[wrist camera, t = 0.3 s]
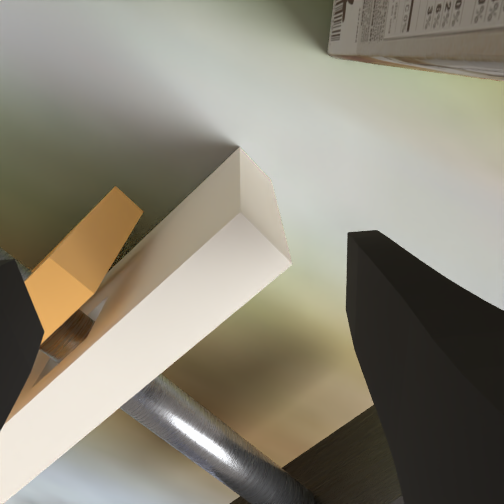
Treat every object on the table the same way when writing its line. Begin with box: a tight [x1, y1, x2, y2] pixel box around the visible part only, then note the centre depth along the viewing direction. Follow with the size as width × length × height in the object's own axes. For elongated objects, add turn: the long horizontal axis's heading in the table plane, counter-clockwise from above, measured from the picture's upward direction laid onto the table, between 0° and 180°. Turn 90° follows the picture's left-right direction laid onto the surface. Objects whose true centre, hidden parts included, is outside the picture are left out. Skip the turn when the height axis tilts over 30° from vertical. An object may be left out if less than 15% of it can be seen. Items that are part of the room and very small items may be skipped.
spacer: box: [24, 186, 143, 344], centre depth 16 cm, size 7×2×7 cm, turn 133°
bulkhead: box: [0, 147, 293, 504], centre depth 18 cm, size 16×2×9 cm, turn 133°
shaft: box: [0, 247, 404, 504], centre depth 18 cm, size 11×18×4 cm, turn 43°
